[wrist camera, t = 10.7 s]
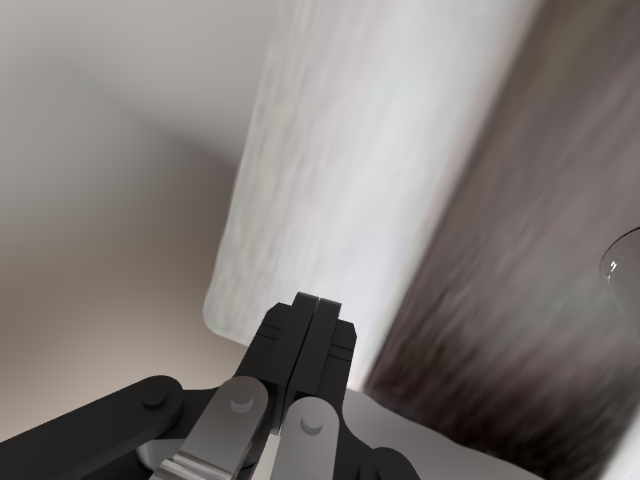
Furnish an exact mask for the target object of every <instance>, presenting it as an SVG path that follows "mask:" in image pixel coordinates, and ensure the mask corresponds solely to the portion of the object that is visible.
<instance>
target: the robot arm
mask: <svg viewBox="0 0 640 480" xmlns="http://www.w3.org/2000/svg"><path fill="white" fill-rule="evenodd" d="M600 277H601V280H602V282H603V285H604V286H605V288H606V289H607V291H608V293H609V294H610V296H611V298H612V299H613V301H614V303H615V304H616V306H617V307H618V309H619V311H620V313H621V314H622V316H623V318H624V319H625V321H626V322H627V324H628V326H629V327H630V329H631V331H632V332H633V334H634V335H635V337H636V339H637V340H638V342H639V344H640V229H638V230H635V231H633V232H631V233H629V234H627V235H626V236H624V237H622V238H621V239H620V240H618V241H617V242H616V243H615V244H613V246H612V247H611V248H610V249H609V250H608V251H607V252H606V254H605V256H604V258H603V260H602V262H601V266H600ZM318 303H319V304H318ZM341 305H342V303H338V302H335V301H331V300H327V299H324V298H320V301H319V297H316V296H313V295H309V294H306V293H302V292H298V293H297V295H296V297H295V299H294V301H293V304H292V306H290V305H287V304H283V303H280V302H279V303H277V304H276V305H275V306H273V307H272V308H271V309H270V310H268V311H267V313H266V315H265V317H264V319H263V321H262V323H261V326H260V327H259V328H258V330H257V332H256V335H255V336H254V338H253V340H252V342H251V344H250V346H249V348H248V350H247V352H246V354H245V356H244V358H243V359H242V361H241V363H240V365H239V367H238V369H237V371H236V373H235V374H234V376H233V377H232V378H231V379H229V380H227V381H225V382H224V383H223V384H222V385H221V386H219V387H216V388H213V389H205V390H183V388H182V386H181V384H180V383H179V382H178V381H177V380H176V379H174V378H172V377H169V376H163V375H158V376H152V377H149V378H146V379H143V380H141V381H139V382H137V383H134V384H132V385H130V386H128V387H125V388H123V389H121V390H119V391H116V392H114V393H112V394H109V395H107V396H105V397H103V398H101V399H98V400H96V401H94V402H91V403H89V404H87V405H85V406H82V407H80V408H78V409H76V410H73V411H71V412H69V413H66V414H64V415H62V416H60V417H57V418H55V419H53V420H51V421H48V422H46V423H44V424H42V425H39V426H37V427H35V428H33V429H30V430H28V431H26V432H23V433H21V434H19V435H17V436H14V437H12V438H10V439H8V440H5V441H3V442H1V443H0V480H251V479H252V476H253V474H254V472H255V469H256V467H257V465H258V463H259V461H260V458H261V454H262V452H263V450H264V447H265V445H266V442H267V439H268V436H269V434H270V433H271V434H274V435H278V433H279V430H280V427H281V424H282V427H281V432H280V437H281V438H280V442H279V446H278V450H277V454H276V458H275V461H274V465H273V469H272V473H271V477H270V480H420V478H419V476H418V475H417V473H416V471H415V469H414V468H413V466H412V465H411V463H410V462H409V460H407V458H406V457H405V456H403V455H402V454H401V453H399V452H398V451H396V450H394V449H391V448H386V447H379V448H376V449H372V448H370V447H369V446H368V445H366V444H365V443H363V442H362V441H361V440H359V439H358V438H357V437H355V436H354V435H353V434H352V433H351V431H350V430H349V429H348V427H347V426H346V424H345V421H344V419H343V415H342V404H343V400H344V395H345V391H346V386H347V381H348V377H349V372H350V367H351V362H352V358H353V353H354V348H355V344H356V339H357V335H356V332H355V328H354V325H353V323H350V322H347V321H343V320H339V319H338V317H339V313H340V309H341Z"/></svg>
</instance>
